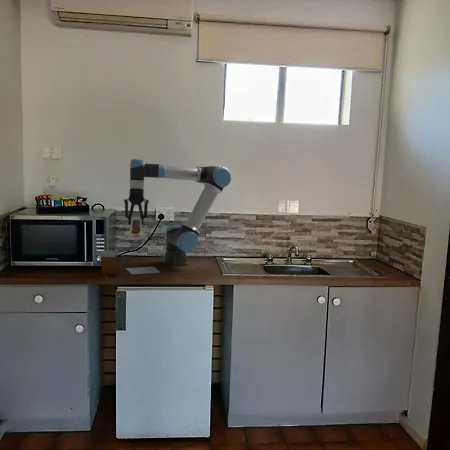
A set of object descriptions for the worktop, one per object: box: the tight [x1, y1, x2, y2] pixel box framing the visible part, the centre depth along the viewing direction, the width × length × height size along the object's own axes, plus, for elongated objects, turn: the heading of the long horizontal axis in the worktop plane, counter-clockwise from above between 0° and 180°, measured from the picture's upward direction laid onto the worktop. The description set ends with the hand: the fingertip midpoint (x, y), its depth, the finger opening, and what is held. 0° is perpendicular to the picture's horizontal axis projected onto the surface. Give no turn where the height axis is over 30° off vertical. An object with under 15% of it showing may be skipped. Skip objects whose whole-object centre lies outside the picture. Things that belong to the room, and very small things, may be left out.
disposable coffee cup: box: [99, 249, 118, 275], centre depth 254 cm, size 10×10×12 cm
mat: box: [125, 266, 162, 275], centre depth 262 cm, size 16×15×1 cm
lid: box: [120, 219, 151, 238], centre depth 257 cm, size 13×13×8 cm
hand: (135, 230), depth 257 cm, fingers closed on lid, 4 cm apart
